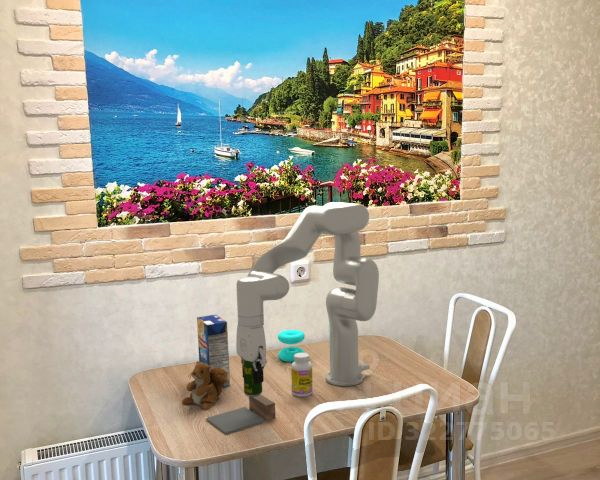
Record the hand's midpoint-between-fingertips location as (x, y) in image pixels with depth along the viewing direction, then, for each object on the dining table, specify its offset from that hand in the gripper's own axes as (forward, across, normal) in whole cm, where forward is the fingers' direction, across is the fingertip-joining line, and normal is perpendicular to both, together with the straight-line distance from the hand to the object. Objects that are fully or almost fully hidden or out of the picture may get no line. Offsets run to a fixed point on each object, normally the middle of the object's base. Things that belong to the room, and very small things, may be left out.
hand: (253, 379), depth 188 cm
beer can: (+5, 0, 0) cm, 5 cm away
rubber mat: (+11, 0, -6) cm, 13 cm away
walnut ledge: (+11, 0, +3) cm, 12 cm away
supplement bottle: (+11, -5, +21) cm, 24 cm away
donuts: (+11, -35, +37) cm, 52 cm away
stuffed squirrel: (+12, -19, -6) cm, 23 cm away
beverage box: (+11, -31, +3) cm, 33 cm away
